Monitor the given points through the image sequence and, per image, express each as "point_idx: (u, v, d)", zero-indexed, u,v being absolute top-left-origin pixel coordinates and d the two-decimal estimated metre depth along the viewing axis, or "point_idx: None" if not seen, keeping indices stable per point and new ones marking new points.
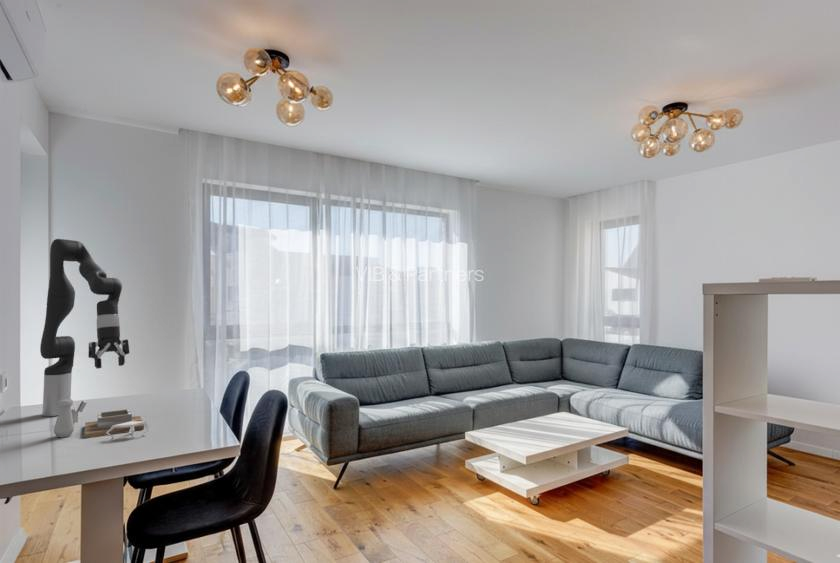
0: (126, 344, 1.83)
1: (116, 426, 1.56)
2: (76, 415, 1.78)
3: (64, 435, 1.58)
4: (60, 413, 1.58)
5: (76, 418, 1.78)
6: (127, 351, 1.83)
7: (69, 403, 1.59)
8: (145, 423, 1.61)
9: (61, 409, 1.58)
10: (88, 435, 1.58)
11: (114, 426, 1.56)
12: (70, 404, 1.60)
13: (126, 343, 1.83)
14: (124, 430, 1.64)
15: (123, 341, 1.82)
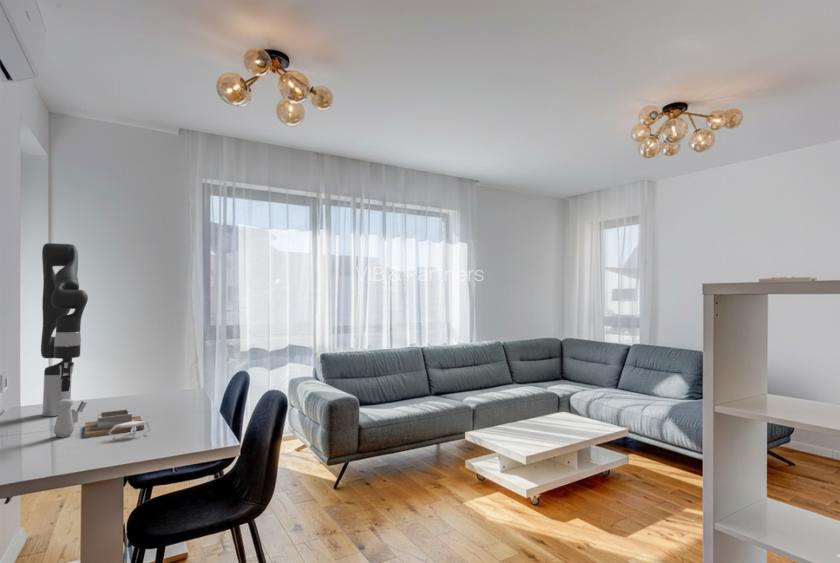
0: None
1: (118, 426, 1.56)
2: (76, 415, 1.78)
3: (64, 435, 1.58)
4: (60, 413, 1.58)
5: (76, 418, 1.78)
6: None
7: (69, 403, 1.59)
8: (147, 423, 1.62)
9: (61, 409, 1.58)
10: (88, 435, 1.58)
11: (116, 426, 1.56)
12: (70, 404, 1.60)
13: None
14: (124, 430, 1.64)
15: None
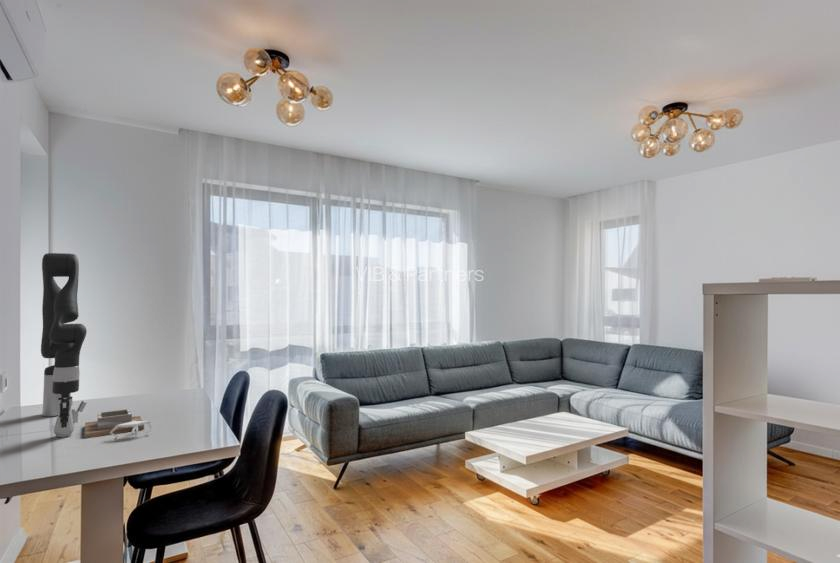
0: None
1: (120, 426, 1.57)
2: (76, 415, 1.78)
3: (64, 435, 1.58)
4: None
5: (76, 418, 1.78)
6: None
7: None
8: (148, 422, 1.62)
9: None
10: (88, 435, 1.58)
11: (118, 426, 1.57)
12: None
13: None
14: (124, 430, 1.64)
15: None
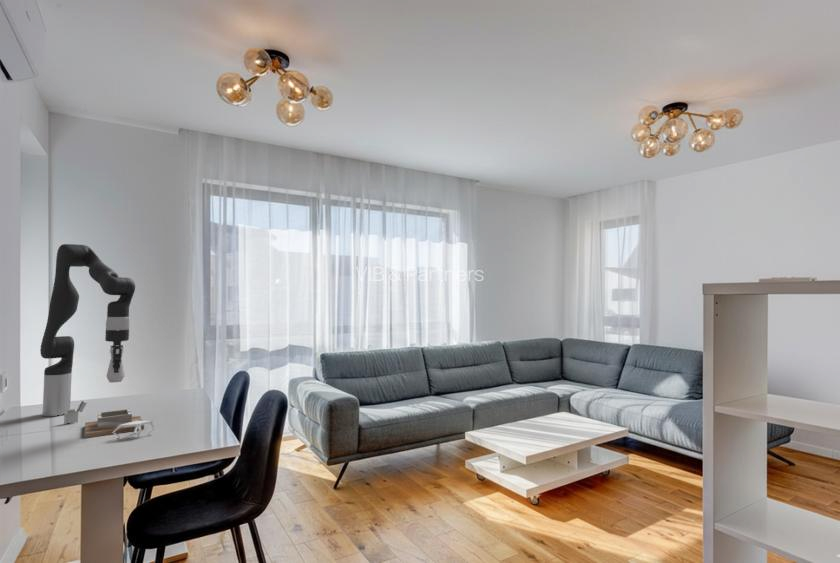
0: None
1: (122, 425, 1.57)
2: (76, 415, 1.78)
3: (116, 380, 1.69)
4: (112, 359, 1.69)
5: (76, 418, 1.78)
6: None
7: None
8: (151, 422, 1.62)
9: None
10: (88, 435, 1.58)
11: (120, 425, 1.57)
12: None
13: None
14: (124, 430, 1.64)
15: None
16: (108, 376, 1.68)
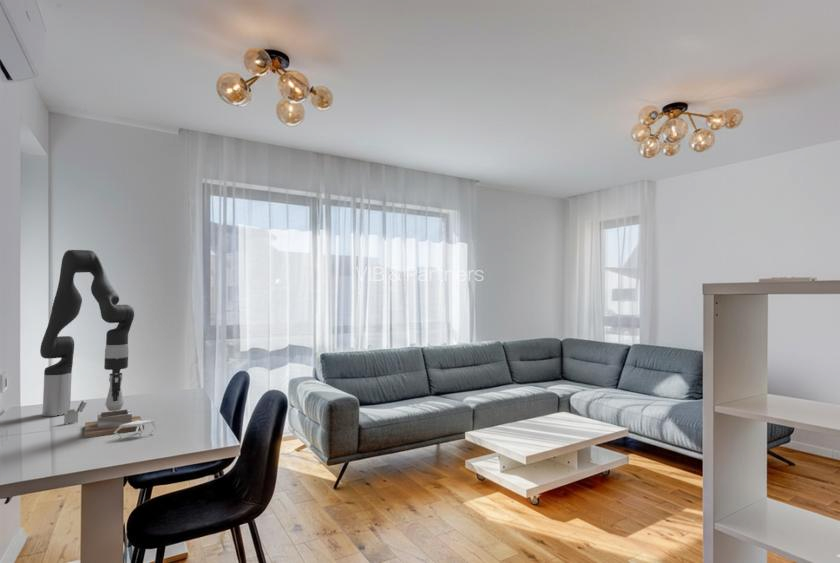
0: None
1: (124, 425, 1.57)
2: (76, 415, 1.78)
3: (115, 408, 1.69)
4: (111, 387, 1.69)
5: (76, 418, 1.78)
6: None
7: None
8: (152, 422, 1.63)
9: None
10: (88, 435, 1.58)
11: (122, 425, 1.57)
12: None
13: None
14: (124, 430, 1.64)
15: None
16: (107, 404, 1.68)
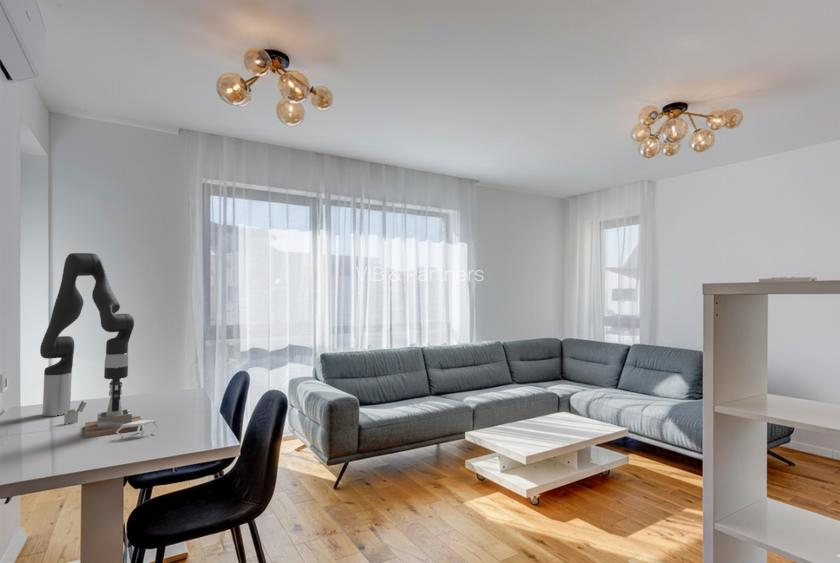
0: None
1: (126, 425, 1.57)
2: (76, 415, 1.78)
3: None
4: (111, 401, 1.69)
5: (76, 418, 1.78)
6: None
7: None
8: (154, 422, 1.63)
9: None
10: (88, 435, 1.58)
11: (124, 425, 1.57)
12: None
13: None
14: (124, 430, 1.64)
15: None
16: None
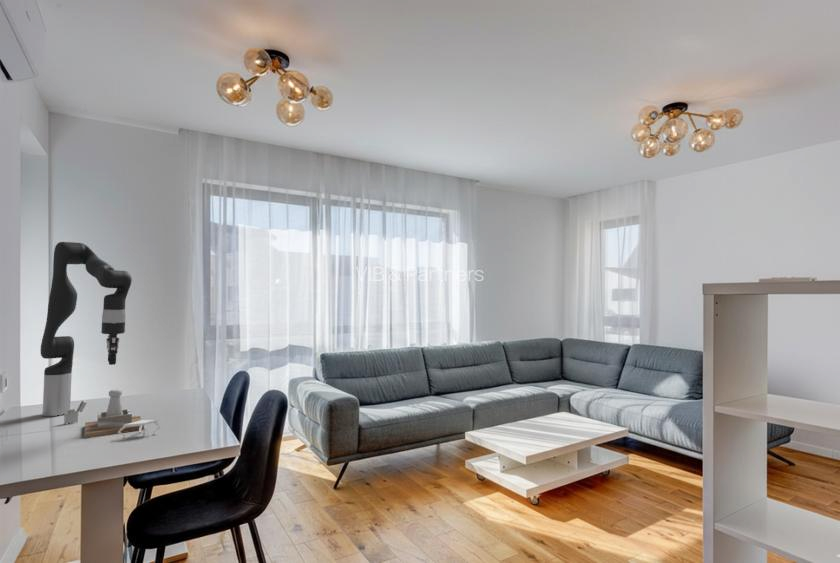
0: None
1: (128, 425, 1.58)
2: (76, 415, 1.78)
3: None
4: (111, 402, 1.69)
5: (76, 418, 1.78)
6: None
7: (119, 393, 1.70)
8: (156, 421, 1.63)
9: (112, 398, 1.69)
10: (88, 435, 1.58)
11: (126, 425, 1.57)
12: (120, 394, 1.70)
13: None
14: (124, 430, 1.64)
15: None
16: None
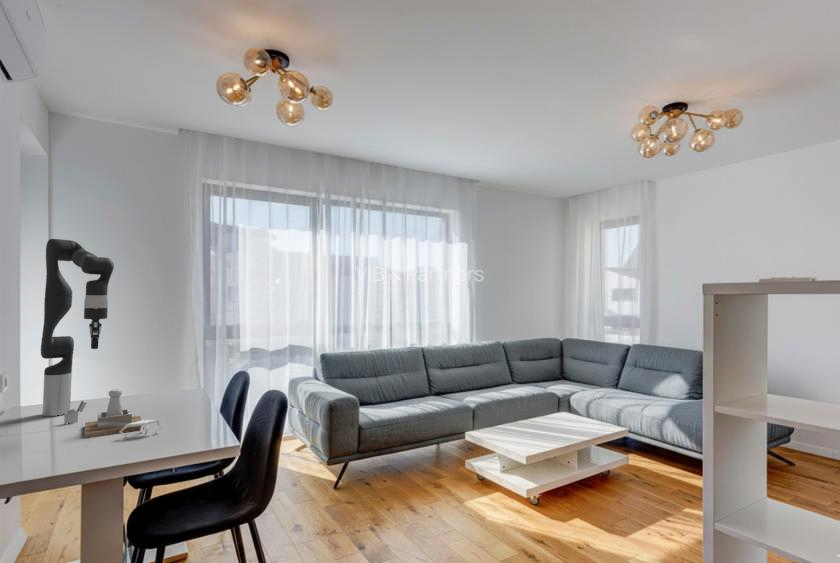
0: None
1: (130, 425, 1.58)
2: (76, 415, 1.78)
3: None
4: (111, 402, 1.69)
5: (76, 418, 1.78)
6: None
7: (119, 393, 1.70)
8: (157, 421, 1.64)
9: (112, 398, 1.69)
10: (88, 435, 1.58)
11: (128, 425, 1.58)
12: (120, 394, 1.70)
13: None
14: (124, 430, 1.64)
15: None
16: None
